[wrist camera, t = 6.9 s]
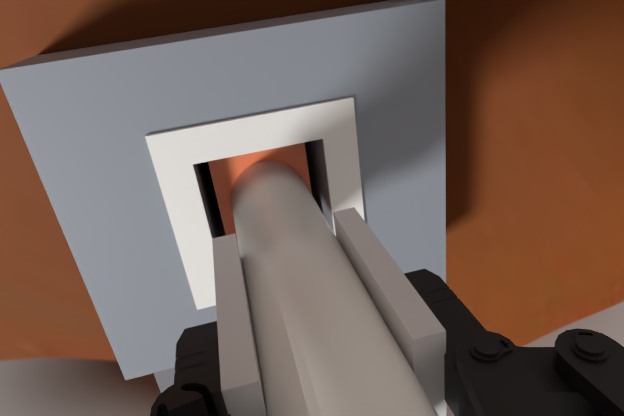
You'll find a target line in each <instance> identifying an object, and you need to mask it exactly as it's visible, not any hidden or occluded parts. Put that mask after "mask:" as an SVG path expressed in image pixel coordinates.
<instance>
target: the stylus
mask: <svg viewBox="0 0 624 416" xmlns="http://www.w3.org/2000/svg"><path fill="white" fill-rule="evenodd" d="M231 205H232V211H233V217H234V223H235V229H236V236H237V242H238V248H239V252H240V256H241V261H242V267H243V273H244V279H245V285H246V291H247V297H248V303H249V309H250V315H251V321H252V327H253V333H254V339H255V346H256V352H257V358H258V364H259V370H260V376H261V382H262V388H263V394H264V400H265V406H266V412H267V416H439V415H438V414H437V412H436V410H435V408H434V407H433V405H432V403H431V401H430V400H429V398H428V396H427V395H426V393H425V391H424V389H423V388H422V386H421V384H420V382H419V381H418V379H417V377H416V375H415V374H414V372H413V370H412V368H411V367H410V365H409V363H408V361H407V360H406V358H405V356H404V355H403V353H402V351H401V349H400V348H399V346H398V344H397V342H396V341H395V339H394V337H393V335H392V334H391V332H390V330H389V328H388V327H387V325H386V323H385V321H384V320H383V318H382V316H381V314H380V313H379V311H378V309H377V308H376V306H375V304H374V302H373V301H372V299H371V297H370V295H369V294H368V292H367V290H366V288H365V287H364V285H363V283H362V281H361V280H360V278H359V276H358V274H357V273H356V271H355V269H354V268H353V266H352V264H351V262H350V261H349V259H348V257H347V255H346V254H345V252H344V250H343V248H342V247H341V245H340V243H339V241H338V240H337V238H336V236H335V234H334V233H333V231H332V229H331V227H330V226H329V224H328V222H327V221H326V219H325V217H324V215H323V214H322V212H321V210H320V208H319V207H318V205H317V203H316V201H315V200H314V198H313V196H312V194H311V193H310V191H309V189H308V187H307V186H306V184H305V182H304V181H303V179H302V177H301V176H300V174H299V173H298V172H297V171H296V170H295V169H294V168H293V167H291V166H290V165H288V164H286V163H283V162H279V161H273V160H271V161H261V162H258V163H255V164H253V165H251V166H249V167H247V168H246V169H245V170H243V171H242V172H241V173H240V175H239V176H238V177H237V178H236V180H235V182H234V184H233V187H232V190H231Z"/></svg>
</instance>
